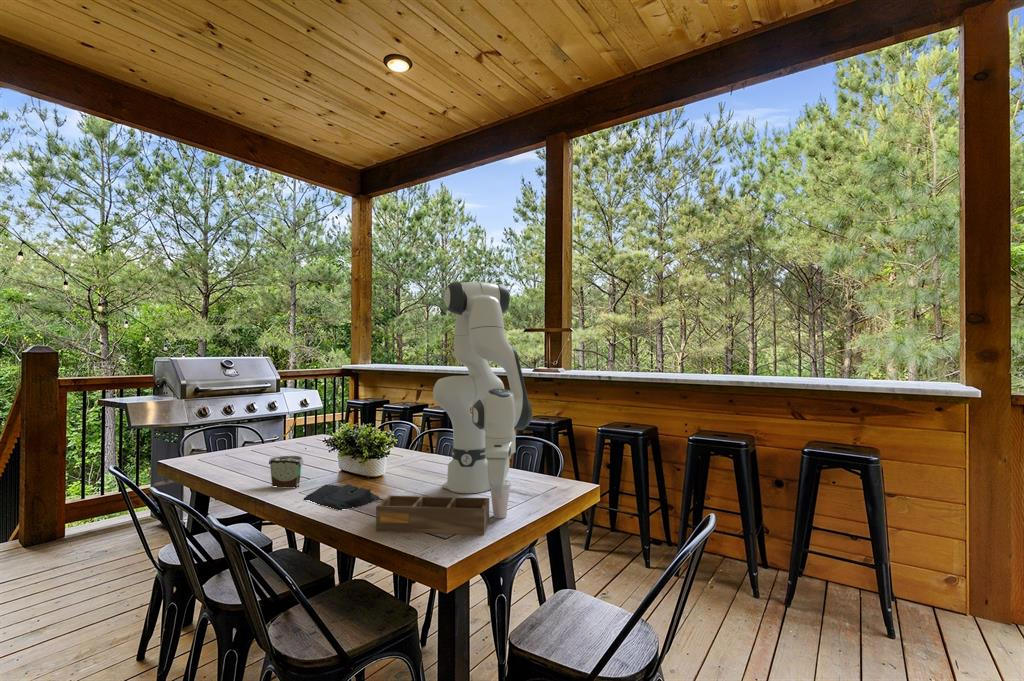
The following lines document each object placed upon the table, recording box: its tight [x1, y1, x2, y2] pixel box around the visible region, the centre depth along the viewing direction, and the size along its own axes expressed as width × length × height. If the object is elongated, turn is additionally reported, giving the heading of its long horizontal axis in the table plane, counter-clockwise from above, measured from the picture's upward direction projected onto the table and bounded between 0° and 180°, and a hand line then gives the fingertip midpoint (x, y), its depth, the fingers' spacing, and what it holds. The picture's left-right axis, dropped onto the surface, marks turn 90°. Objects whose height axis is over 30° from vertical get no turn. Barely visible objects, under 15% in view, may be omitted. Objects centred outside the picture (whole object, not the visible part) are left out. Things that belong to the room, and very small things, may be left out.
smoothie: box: [489, 479, 512, 519], centre depth 143 cm, size 6×6×14 cm
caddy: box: [375, 495, 490, 536], centre depth 135 cm, size 10×29×6 cm, turn 85°
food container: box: [268, 455, 304, 489], centre depth 176 cm, size 12×6×10 cm, turn 80°
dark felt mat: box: [303, 484, 380, 511], centre depth 159 cm, size 15×22×5 cm
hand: (499, 494), depth 142 cm, fingers closed on smoothie, 6 cm apart
